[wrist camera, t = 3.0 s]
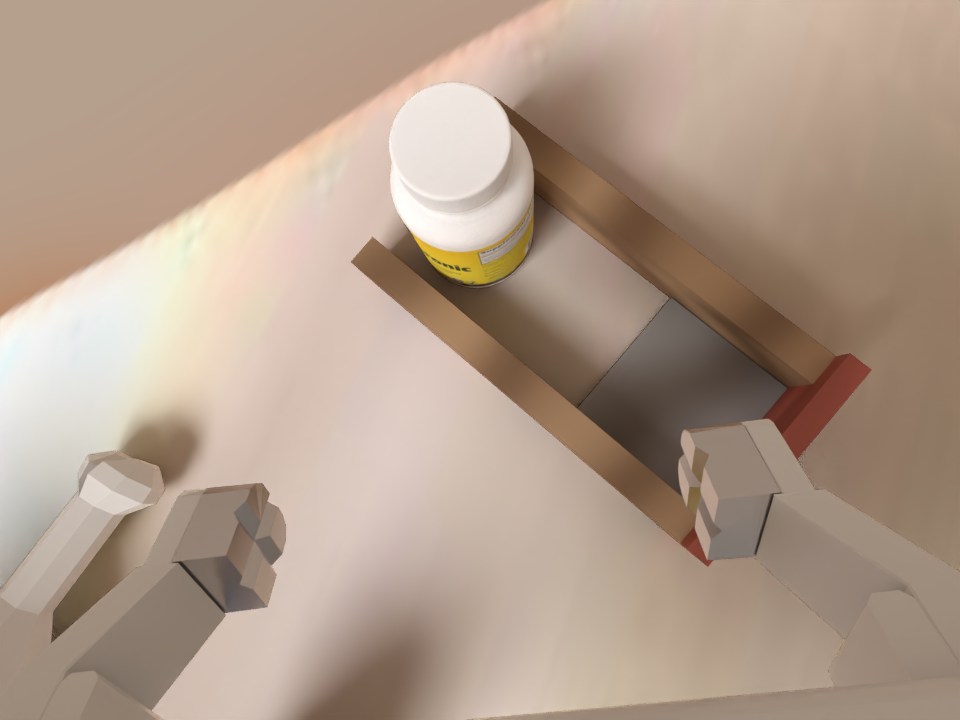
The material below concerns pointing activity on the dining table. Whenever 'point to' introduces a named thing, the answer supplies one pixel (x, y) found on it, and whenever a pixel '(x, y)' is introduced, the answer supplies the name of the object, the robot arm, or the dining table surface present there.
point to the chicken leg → (69, 552)
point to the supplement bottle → (463, 183)
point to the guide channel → (647, 349)
